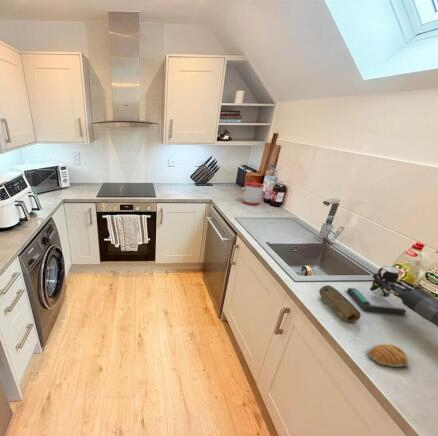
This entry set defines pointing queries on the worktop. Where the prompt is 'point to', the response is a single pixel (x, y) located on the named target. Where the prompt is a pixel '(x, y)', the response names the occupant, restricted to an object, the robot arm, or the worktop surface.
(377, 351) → the pastry
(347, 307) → the brown rough cylinder
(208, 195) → the worktop surface
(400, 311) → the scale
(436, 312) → the robot arm
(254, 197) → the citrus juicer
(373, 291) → the beverage can
